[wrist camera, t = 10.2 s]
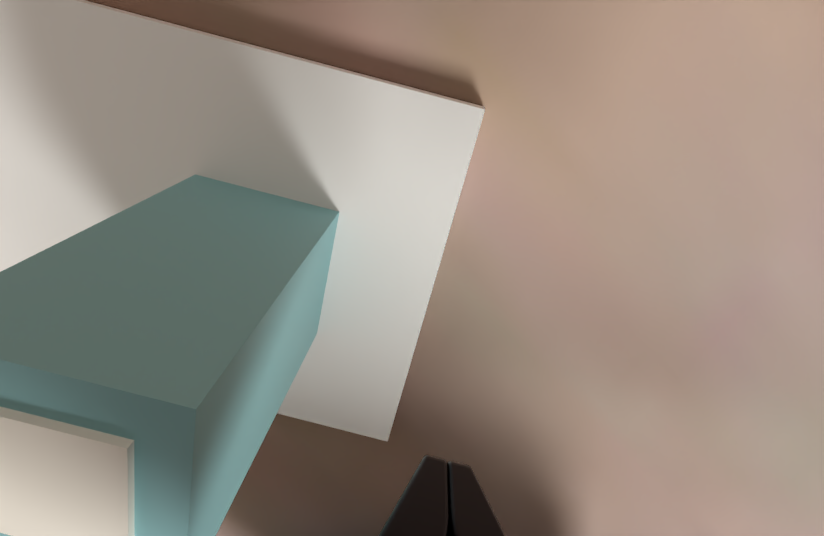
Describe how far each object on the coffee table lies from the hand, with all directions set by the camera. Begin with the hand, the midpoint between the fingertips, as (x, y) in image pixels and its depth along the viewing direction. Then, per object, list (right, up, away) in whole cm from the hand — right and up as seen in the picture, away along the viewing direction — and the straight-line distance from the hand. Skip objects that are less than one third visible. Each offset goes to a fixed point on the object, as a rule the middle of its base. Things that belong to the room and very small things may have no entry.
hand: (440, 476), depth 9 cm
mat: (-8, +5, +6) cm, 11 cm away
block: (-5, +4, +5) cm, 8 cm away
